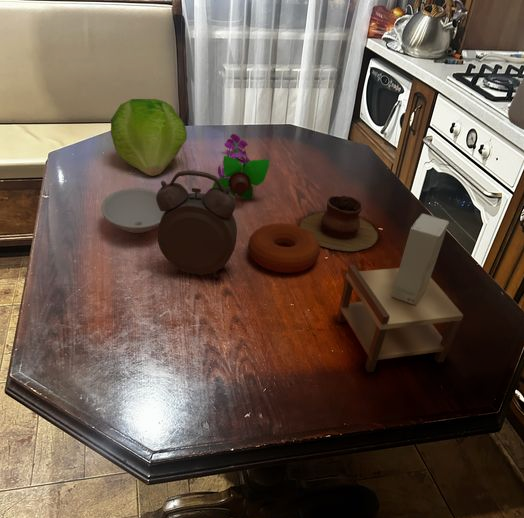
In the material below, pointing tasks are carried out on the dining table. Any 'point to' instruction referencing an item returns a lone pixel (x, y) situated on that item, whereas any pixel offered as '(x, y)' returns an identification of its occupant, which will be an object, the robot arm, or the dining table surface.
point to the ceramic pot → (341, 225)
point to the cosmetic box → (419, 258)
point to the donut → (283, 248)
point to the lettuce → (147, 134)
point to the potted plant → (232, 172)
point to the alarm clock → (196, 225)
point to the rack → (396, 317)
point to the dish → (133, 209)
